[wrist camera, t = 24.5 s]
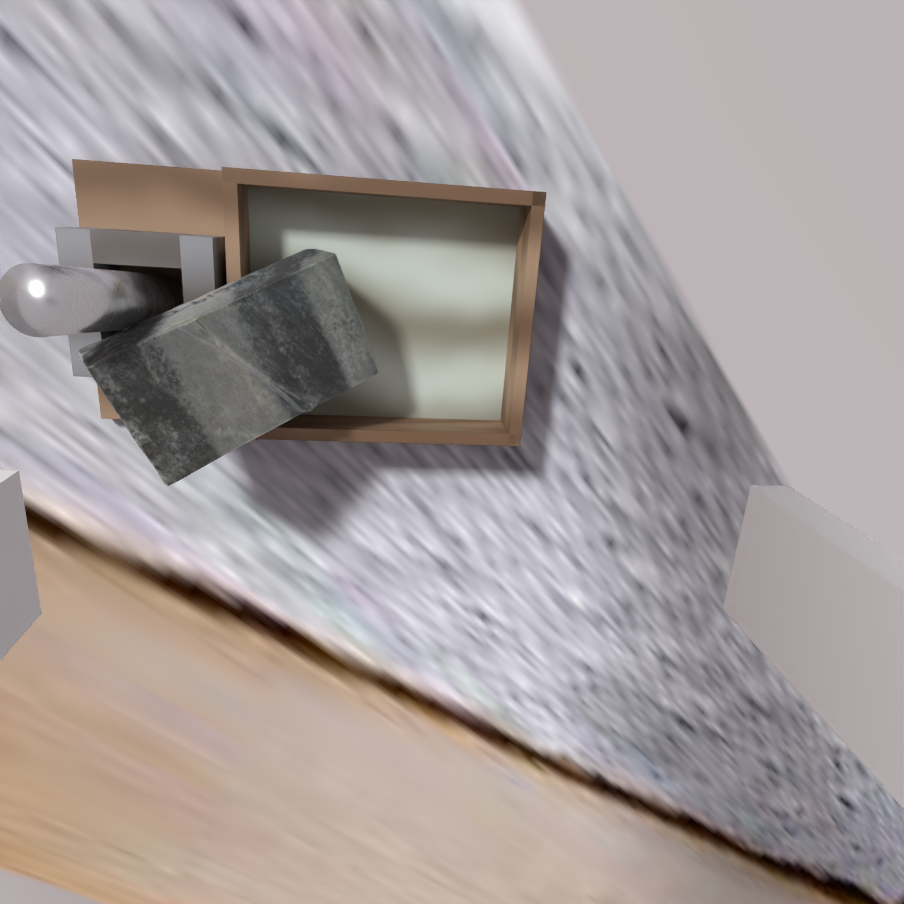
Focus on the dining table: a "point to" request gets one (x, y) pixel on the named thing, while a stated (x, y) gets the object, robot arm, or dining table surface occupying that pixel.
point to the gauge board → (367, 275)
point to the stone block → (234, 362)
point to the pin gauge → (82, 299)
